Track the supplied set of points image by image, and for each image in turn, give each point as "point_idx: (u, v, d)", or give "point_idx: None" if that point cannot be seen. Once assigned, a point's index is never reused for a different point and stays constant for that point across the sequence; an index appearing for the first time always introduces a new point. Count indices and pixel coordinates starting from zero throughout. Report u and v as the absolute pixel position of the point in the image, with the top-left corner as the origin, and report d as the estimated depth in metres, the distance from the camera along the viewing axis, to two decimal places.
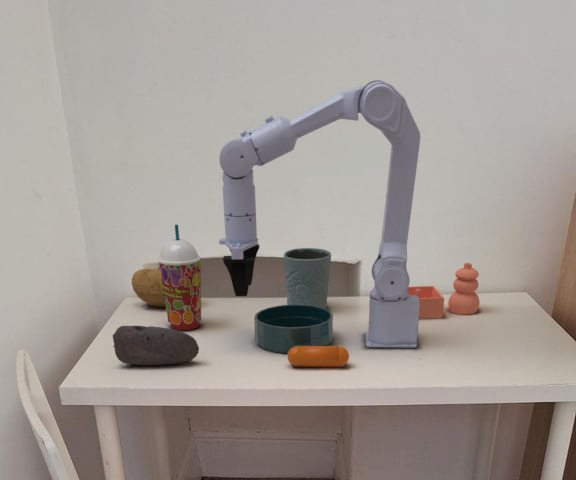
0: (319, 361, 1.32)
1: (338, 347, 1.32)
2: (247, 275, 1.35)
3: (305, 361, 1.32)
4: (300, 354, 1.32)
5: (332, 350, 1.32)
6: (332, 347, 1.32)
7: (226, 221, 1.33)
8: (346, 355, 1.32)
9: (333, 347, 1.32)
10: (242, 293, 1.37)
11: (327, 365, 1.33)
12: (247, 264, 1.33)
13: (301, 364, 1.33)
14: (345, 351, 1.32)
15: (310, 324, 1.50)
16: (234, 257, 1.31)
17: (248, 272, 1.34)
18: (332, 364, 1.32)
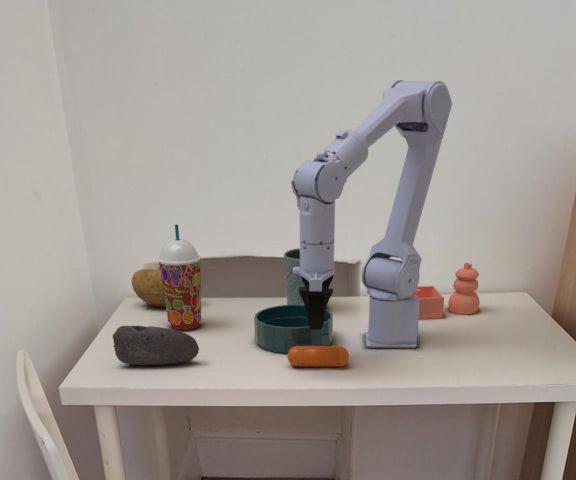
0: (319, 361, 1.32)
1: (338, 347, 1.32)
2: (324, 307, 1.24)
3: (305, 361, 1.32)
4: (300, 354, 1.32)
5: (332, 350, 1.32)
6: (332, 347, 1.32)
7: (302, 249, 1.23)
8: (346, 355, 1.32)
9: (333, 347, 1.32)
10: (317, 326, 1.27)
11: (327, 365, 1.33)
12: (325, 296, 1.22)
13: (301, 364, 1.33)
14: (345, 351, 1.32)
15: None
16: (312, 289, 1.20)
17: (325, 304, 1.24)
18: (332, 364, 1.32)
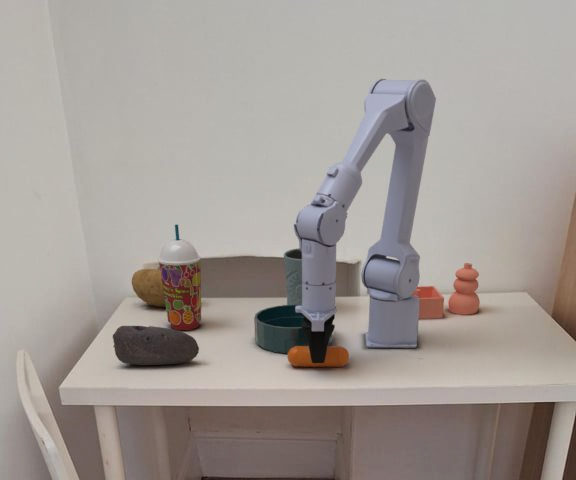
0: None
1: (338, 347, 1.32)
2: (326, 342, 1.29)
3: (305, 361, 1.32)
4: (300, 354, 1.32)
5: (332, 350, 1.32)
6: (332, 347, 1.32)
7: (304, 289, 1.26)
8: (346, 355, 1.32)
9: (333, 347, 1.32)
10: (319, 360, 1.31)
11: (327, 365, 1.33)
12: (327, 332, 1.27)
13: (301, 364, 1.33)
14: (345, 351, 1.32)
15: None
16: (314, 329, 1.23)
17: (327, 340, 1.28)
18: (332, 364, 1.32)
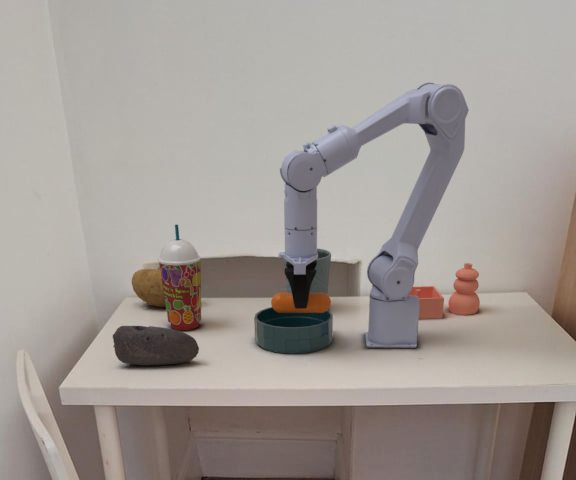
0: None
1: (320, 293, 1.36)
2: (308, 287, 1.33)
3: (288, 307, 1.36)
4: (283, 299, 1.36)
5: (314, 296, 1.36)
6: (314, 293, 1.36)
7: (287, 235, 1.30)
8: (328, 301, 1.36)
9: (315, 293, 1.36)
10: (302, 305, 1.35)
11: (309, 311, 1.37)
12: (309, 276, 1.31)
13: (284, 310, 1.37)
14: (327, 297, 1.36)
15: (310, 324, 1.50)
16: (296, 272, 1.28)
17: (309, 284, 1.32)
18: (314, 310, 1.37)
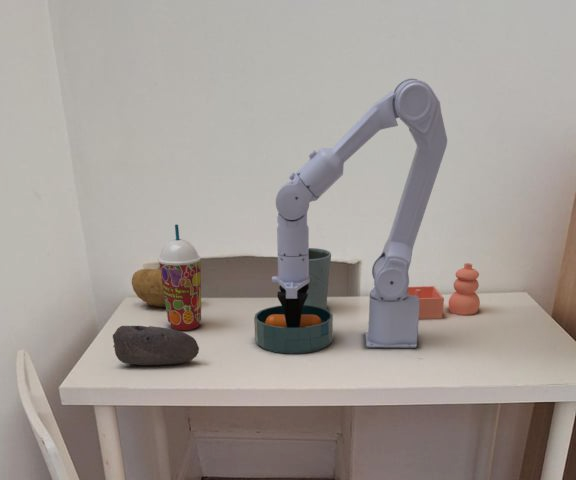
0: None
1: (311, 315, 1.43)
2: (300, 310, 1.40)
3: None
4: (276, 321, 1.43)
5: (306, 317, 1.43)
6: (306, 315, 1.43)
7: (280, 261, 1.37)
8: (319, 322, 1.43)
9: (307, 315, 1.43)
10: None
11: None
12: (301, 300, 1.38)
13: None
14: (318, 318, 1.43)
15: None
16: (288, 296, 1.34)
17: (301, 307, 1.39)
18: None
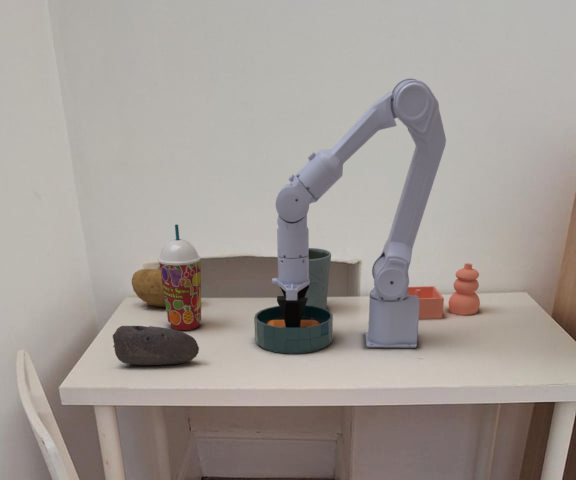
0: None
1: (311, 320, 1.44)
2: (300, 314, 1.38)
3: None
4: (276, 325, 1.43)
5: (306, 322, 1.43)
6: (306, 320, 1.44)
7: (280, 262, 1.37)
8: None
9: (307, 320, 1.44)
10: None
11: None
12: (300, 304, 1.36)
13: None
14: (318, 323, 1.44)
15: None
16: (288, 298, 1.35)
17: (301, 312, 1.38)
18: None
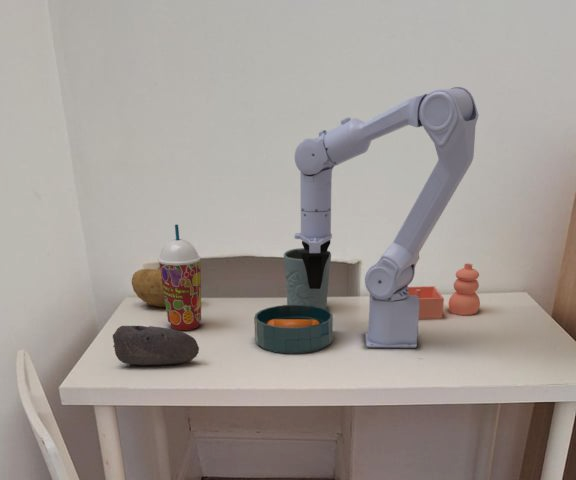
0: None
1: (311, 319, 1.44)
2: (322, 268, 1.41)
3: None
4: (276, 323, 1.44)
5: (306, 320, 1.44)
6: (306, 319, 1.45)
7: (303, 216, 1.39)
8: None
9: (307, 319, 1.45)
10: (316, 286, 1.43)
11: None
12: (323, 258, 1.39)
13: None
14: (318, 322, 1.44)
15: None
16: (312, 251, 1.37)
17: (323, 265, 1.40)
18: None
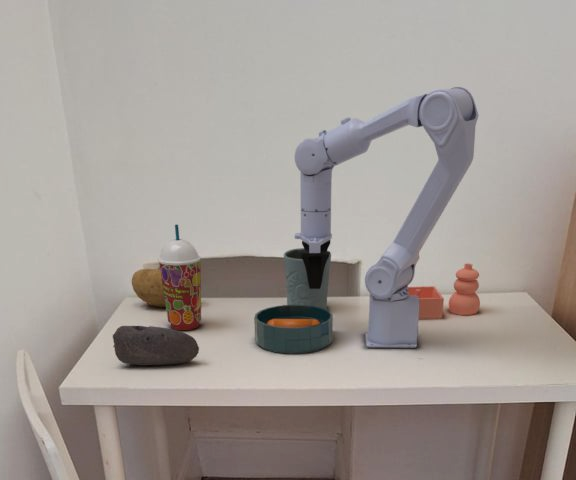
0: None
1: (312, 319, 1.45)
2: (322, 268, 1.41)
3: None
4: (277, 322, 1.44)
5: (306, 319, 1.44)
6: (306, 319, 1.45)
7: (303, 216, 1.39)
8: None
9: (307, 319, 1.45)
10: (316, 286, 1.43)
11: None
12: (323, 258, 1.39)
13: None
14: (318, 321, 1.45)
15: None
16: (312, 251, 1.37)
17: (323, 265, 1.40)
18: None
